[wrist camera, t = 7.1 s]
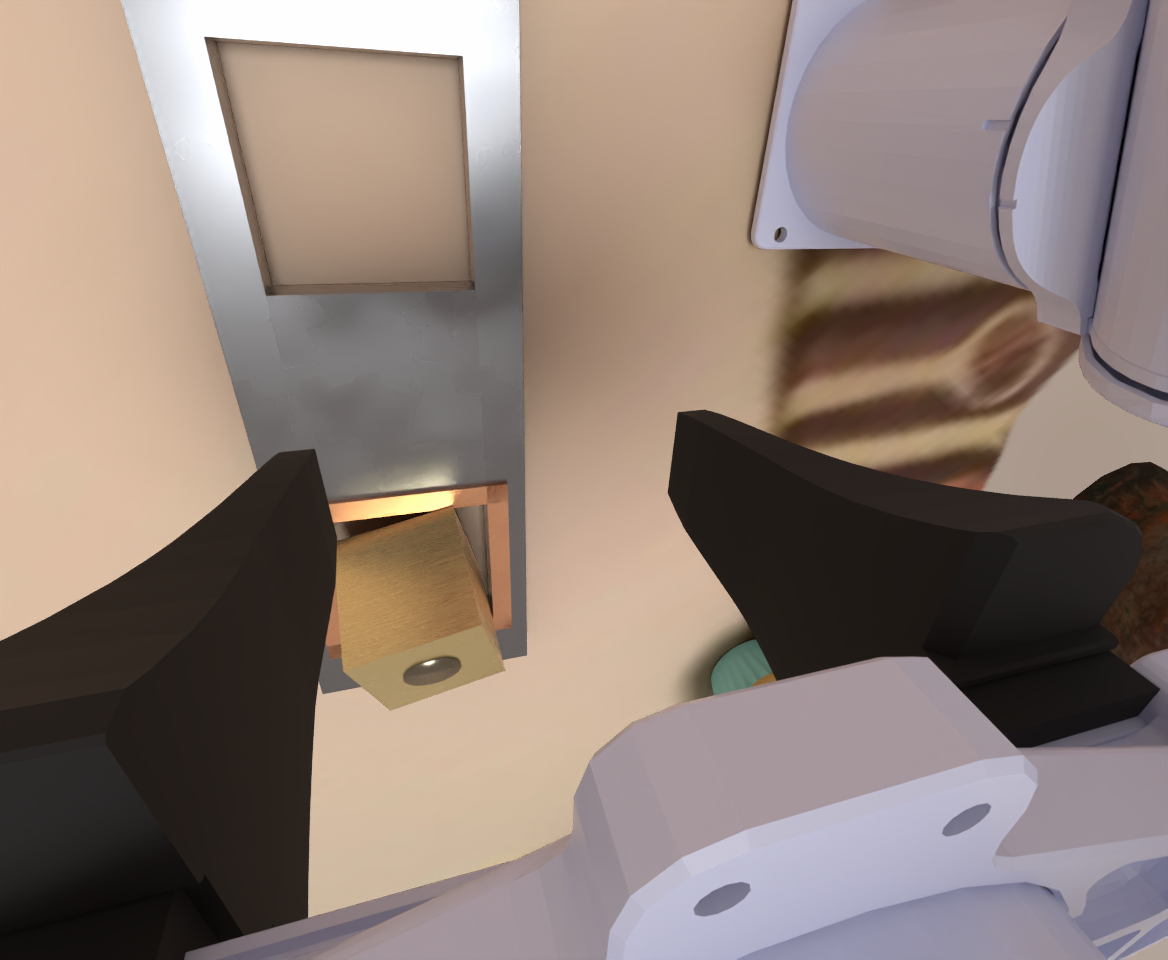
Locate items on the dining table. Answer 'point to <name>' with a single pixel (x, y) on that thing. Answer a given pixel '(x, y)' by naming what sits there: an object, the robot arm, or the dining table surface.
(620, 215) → the dining table surface
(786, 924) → the robot arm
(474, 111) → the rail
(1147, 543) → the pitcher
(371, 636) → the brass cube with hole
